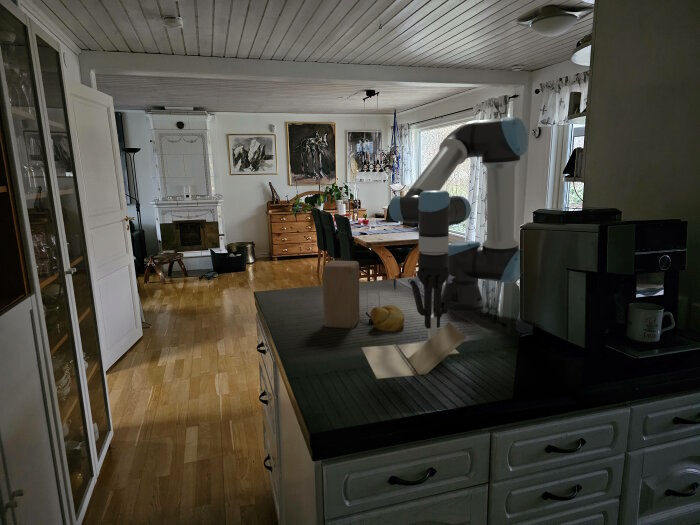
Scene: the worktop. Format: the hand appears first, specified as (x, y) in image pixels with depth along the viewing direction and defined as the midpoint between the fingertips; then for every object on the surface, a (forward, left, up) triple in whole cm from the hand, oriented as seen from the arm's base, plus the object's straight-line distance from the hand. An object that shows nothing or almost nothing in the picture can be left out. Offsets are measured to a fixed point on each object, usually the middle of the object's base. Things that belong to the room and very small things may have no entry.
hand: (432, 339), depth 115 cm
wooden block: (+20, -29, -4) cm, 35 cm away
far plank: (+1, 0, -4) cm, 4 cm away
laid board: (+14, +5, -4) cm, 15 cm away
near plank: (+2, +10, +1) cm, 10 cm away
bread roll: (+6, -21, -4) cm, 22 cm away
